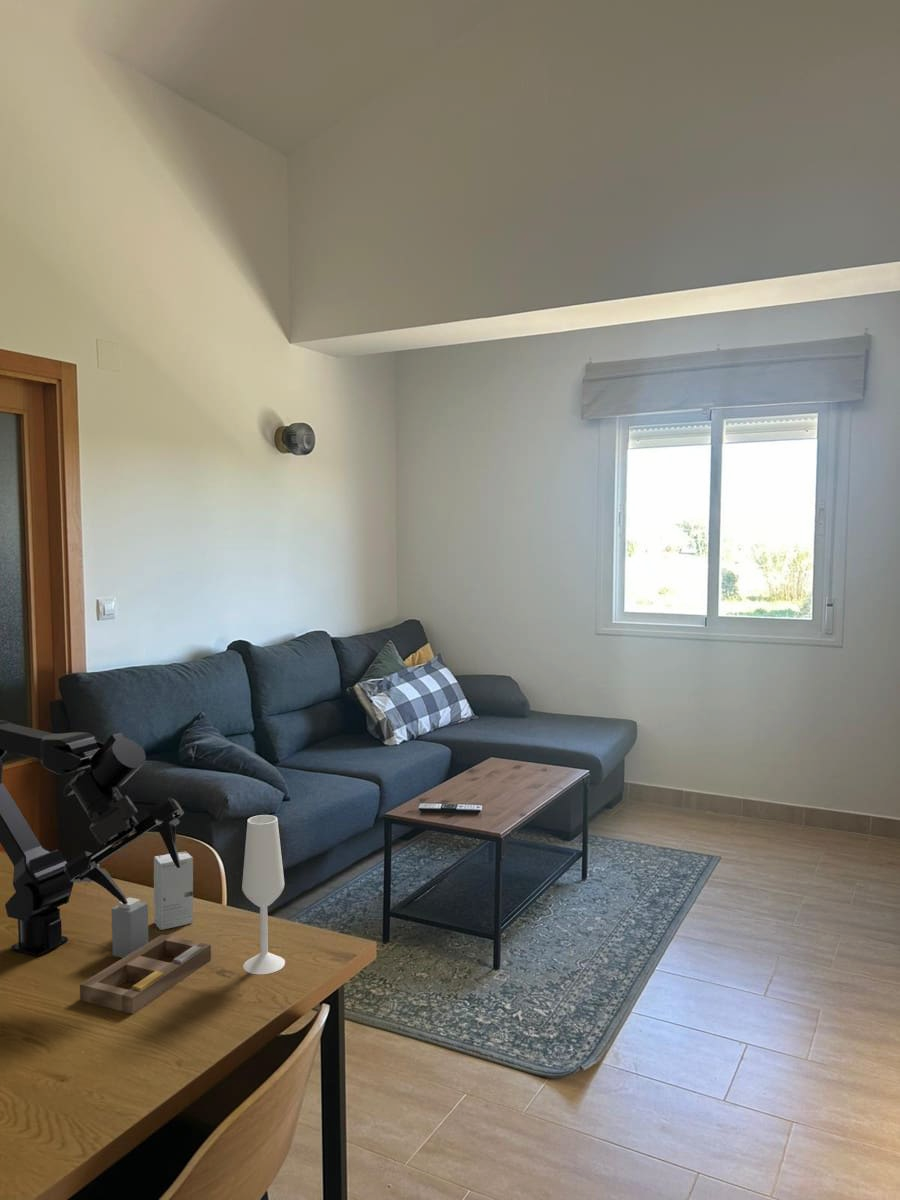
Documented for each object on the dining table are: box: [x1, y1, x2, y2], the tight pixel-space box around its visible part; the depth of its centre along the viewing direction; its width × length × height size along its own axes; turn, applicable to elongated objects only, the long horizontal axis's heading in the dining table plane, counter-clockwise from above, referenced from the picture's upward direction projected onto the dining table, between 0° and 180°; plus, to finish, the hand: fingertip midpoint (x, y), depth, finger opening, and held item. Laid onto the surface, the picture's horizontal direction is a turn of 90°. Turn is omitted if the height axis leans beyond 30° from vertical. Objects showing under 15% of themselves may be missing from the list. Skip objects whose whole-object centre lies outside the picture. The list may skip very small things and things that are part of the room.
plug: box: [111, 897, 150, 959], centre depth 146 cm, size 4×4×9 cm
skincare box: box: [153, 851, 194, 931], centre depth 157 cm, size 6×4×12 cm
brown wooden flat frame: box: [79, 934, 212, 1015], centre depth 137 cm, size 10×18×3 cm, turn 158°
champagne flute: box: [241, 814, 286, 975], centre depth 141 cm, size 7×7×24 cm
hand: (152, 885), depth 137 cm, fingers open, 9 cm apart
